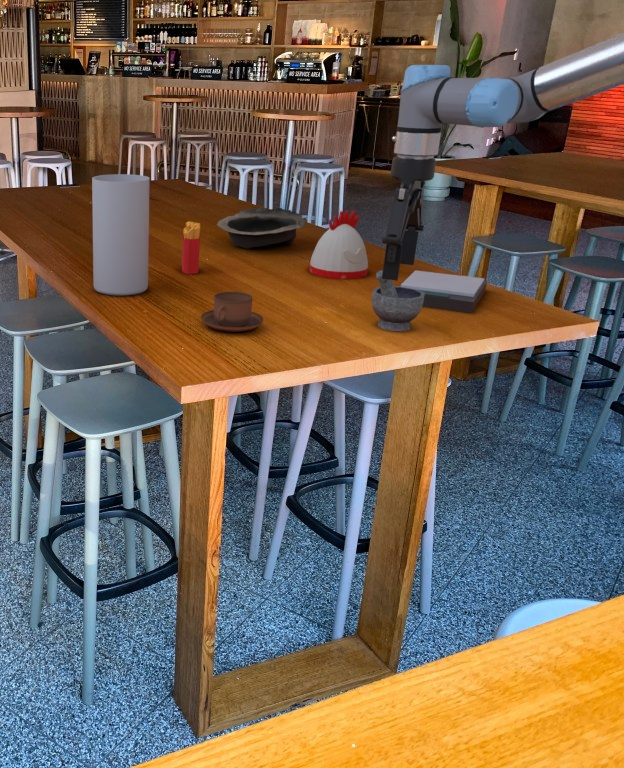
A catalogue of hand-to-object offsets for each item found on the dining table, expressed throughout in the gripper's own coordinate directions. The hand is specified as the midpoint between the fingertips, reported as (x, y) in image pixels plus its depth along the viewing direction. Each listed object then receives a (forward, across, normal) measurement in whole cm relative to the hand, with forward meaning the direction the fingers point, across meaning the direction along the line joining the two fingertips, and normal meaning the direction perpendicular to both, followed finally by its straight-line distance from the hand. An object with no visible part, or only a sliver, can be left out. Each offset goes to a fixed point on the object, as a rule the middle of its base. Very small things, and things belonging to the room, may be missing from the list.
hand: (398, 271), depth 151 cm
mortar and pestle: (+11, 0, 0) cm, 11 cm away
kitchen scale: (+11, -28, +4) cm, 30 cm away
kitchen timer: (+12, -39, -22) cm, 46 cm away
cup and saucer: (+11, +16, -27) cm, 33 cm away
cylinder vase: (+12, +3, -60) cm, 61 cm away
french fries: (+12, -21, -54) cm, 59 cm away
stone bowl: (+12, -58, -50) cm, 77 cm away
